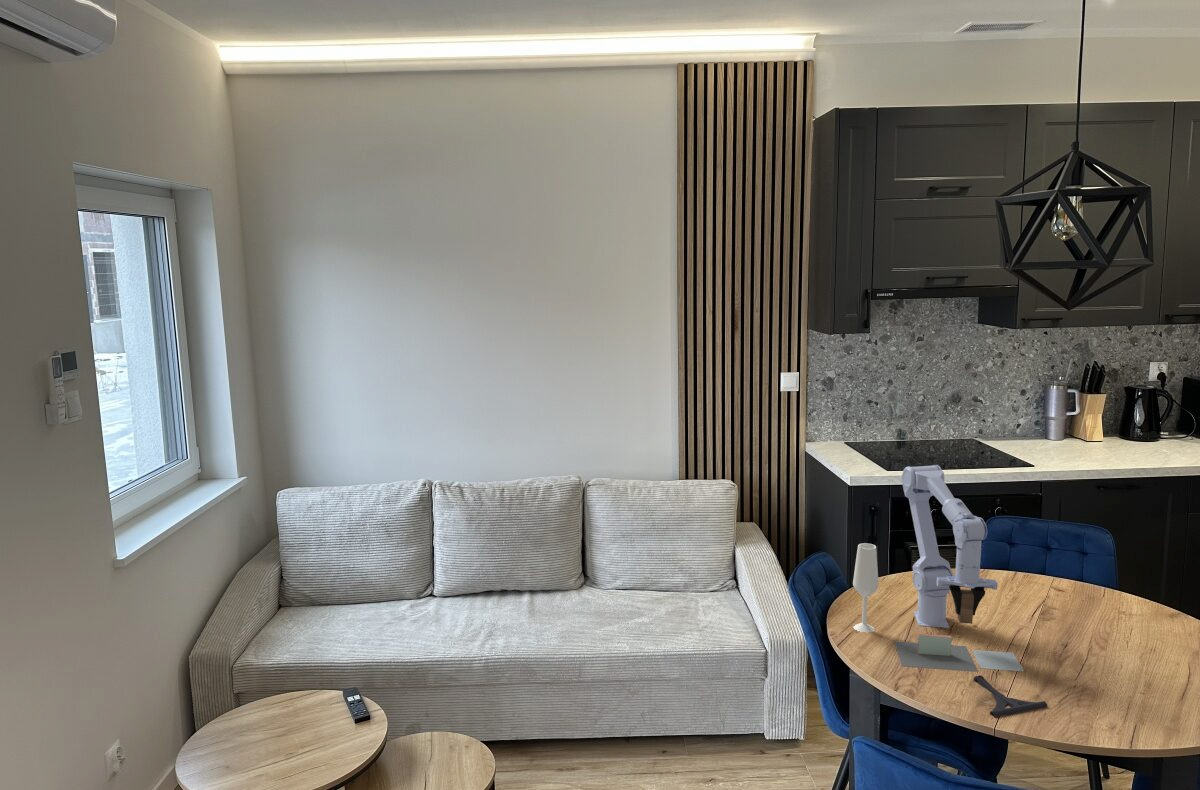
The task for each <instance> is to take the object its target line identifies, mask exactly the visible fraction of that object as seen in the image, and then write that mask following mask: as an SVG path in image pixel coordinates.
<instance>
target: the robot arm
mask: <svg viewBox="0 0 1200 790" xmlns="http://www.w3.org/2000/svg"><path fill="white" fill-rule="evenodd" d="M900 478H901V483H902V489H903V492H904V497H906V498H907V499H908V501H909V506H910V513H911V517H912V522H913V528H914V532H915V537H916V542H917V543H916V544H917V547H918V552H919V557H920V558H919V559H917V561H916V562H914V563H913V565H912V583H913V586H914V588H915V589H916V591H918V593H917V596H918V597H917V608H916V609H917V610H914V611H913V615H914V617H915V619H916V622H917V625H918V626H919V627H931V628H945V629H948V628H950V624H949V623H948V621H947V617H946V615H947V602H948V601H947V599H948V598H947V597H948V595H949V594H951V596H952V599H953V604H954V609H955V613H956V615H958V614H959V615H960V602H961V596H962V592H961V588H967V589H970V590H972V592H973V593H974V605H973V616H975V615H976V611H977V610H978V606H979V604H980V602H981V601H982V599H983V598H984V597H985V595H986V590H985V589H992V590H993V591H994V590H995V591H997V590H998V586H999V585H998V583H999V582H998V581H997V580H996V579H988V578H982V577H980V570H981V558H982V557H981V556H982V555H981V554H982V553H981V552H982V541H984V540H986V539H987V535H988V528H987V524H986V522H985V520H984V519H983V518H982V517H979V516H977V515H974V514H973V513H972V512H971V511H970V510H969V508H968V506H966V504H965V503H964V501H962V499H960V498H957V497H956V498H955V497H954V495H953V494H952V492H951V490H950V489H949V487H948V486H947V484H946V482H945V473H944V471H943V469H942V468H941V466H940V465H939V464H933V465H921V466H906V467H905V468H903V471H902V474H901V477H900ZM932 496H934V497H935V499H936V500H938V502H939V503H940V504H941V505H942V508H941V512H942V513H943V515H944V516H945V517H946V519H947V520H948V522H949V523H950V524H951V525H952V531H953V532H952V533H953V535H954V543H955V546H956V557H955V572H953V571H952V568H951V564H950V562H949V561H948V560H947V559H945V558H944V557H942V556H941V555H940V551H939V546H938V542H937V535H936V531H935V527H934V522H933V518H932V517H933V515H932V511H931V507H930V503H929V502H930V501H929V500H930V498H931V497H932ZM954 573H955V574H954Z"/></svg>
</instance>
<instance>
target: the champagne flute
mask: <svg viewBox="0 0 1200 790" xmlns="http://www.w3.org/2000/svg"><path fill="white" fill-rule="evenodd" d="M878 572H879V570H878V555H877V546H876V545H875V544H872V543H866V542H864V543H859V544H858V545H857V550H856V558H855V565H854V573H853V580H852V586H853V588H854V589H855V591H856V592H857V593H858V594H859V595H860V596H862V611H861V612H862V613H861V614H862V615H861V622H860V623H856V624H855V626H854V625H853V629H854V630H855V631H856V630H857V631H856V632H859V631H860V632H859V633H863V632H866V633H867V634H868V632H870V633H873V632H875V630H874V629H875V627H874V626H872V625H871V624H869V623H867V616H868V615H867V614H868V597H870V596H872V595H873V594H874V593H876V592H877V590H878V589H879V573H878ZM866 633H865V634H866Z"/></svg>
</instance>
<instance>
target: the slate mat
mask: <svg viewBox="0 0 1200 790" xmlns="http://www.w3.org/2000/svg"><path fill="white" fill-rule="evenodd" d="M917 644H918V642H911V641H910V642H909V641H899V640H898V641H897V640H896V641H895V640H894V646H895V649H896V652H897V655H898V658H899V659H898V660H899V662H900V665H901V667H909V668H922V669H937V670H949V671H963V672H976V673H978V672H979V670H978V669H977V668H978V667H977V666H976V664H975V662H974V660H973V658H972V656H971V653H970V652H969V650H968V647H967V646H966V645H956V644H955V645H952V644H951V656H942V655H928V654H918V653H917Z"/></svg>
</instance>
